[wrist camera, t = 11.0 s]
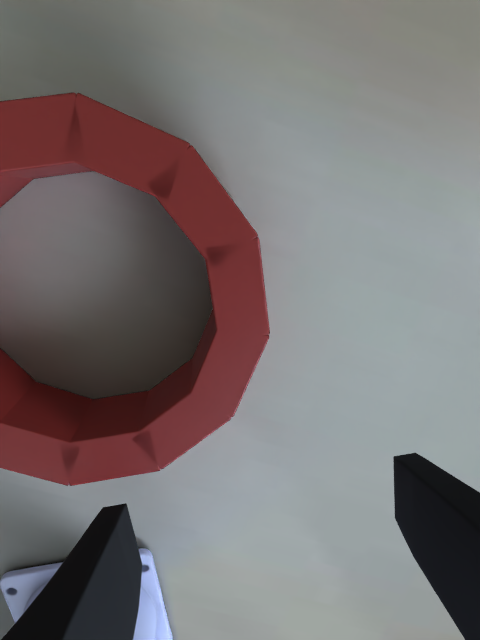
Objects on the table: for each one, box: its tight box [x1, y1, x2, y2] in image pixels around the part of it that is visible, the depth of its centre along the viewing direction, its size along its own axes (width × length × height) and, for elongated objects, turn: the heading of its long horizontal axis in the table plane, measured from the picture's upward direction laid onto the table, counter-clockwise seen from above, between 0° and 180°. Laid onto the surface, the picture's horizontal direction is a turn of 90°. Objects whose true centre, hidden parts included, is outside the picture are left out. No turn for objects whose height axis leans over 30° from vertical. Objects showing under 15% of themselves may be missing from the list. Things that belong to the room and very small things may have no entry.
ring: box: [0, 93, 270, 486], centre depth 16 cm, size 14×14×4 cm
